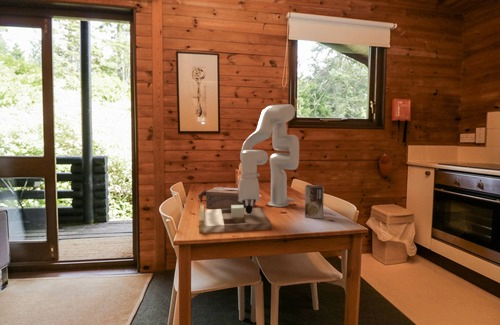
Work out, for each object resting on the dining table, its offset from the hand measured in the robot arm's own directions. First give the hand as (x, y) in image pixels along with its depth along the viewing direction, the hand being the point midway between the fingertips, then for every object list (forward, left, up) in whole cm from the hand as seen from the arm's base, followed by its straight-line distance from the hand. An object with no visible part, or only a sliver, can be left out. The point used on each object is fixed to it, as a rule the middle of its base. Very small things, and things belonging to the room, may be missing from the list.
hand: (248, 213), depth 137 cm
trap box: (+8, 0, -4) cm, 9 cm away
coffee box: (-35, -3, -4) cm, 36 cm away
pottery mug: (+20, -47, -4) cm, 51 cm away
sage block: (+5, 0, -1) cm, 6 cm away
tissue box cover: (+6, -30, -5) cm, 31 cm away
